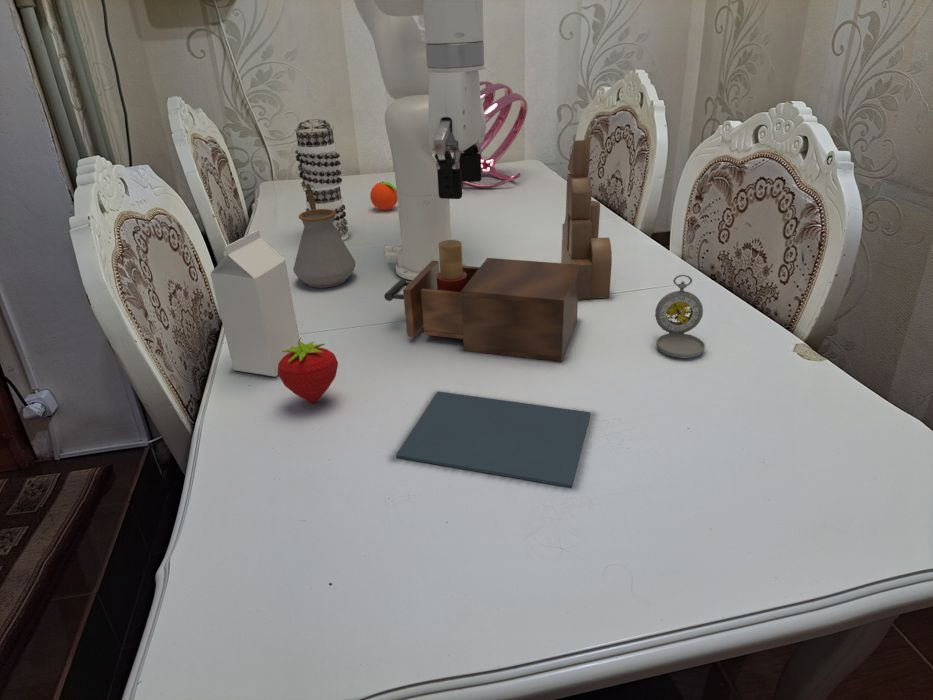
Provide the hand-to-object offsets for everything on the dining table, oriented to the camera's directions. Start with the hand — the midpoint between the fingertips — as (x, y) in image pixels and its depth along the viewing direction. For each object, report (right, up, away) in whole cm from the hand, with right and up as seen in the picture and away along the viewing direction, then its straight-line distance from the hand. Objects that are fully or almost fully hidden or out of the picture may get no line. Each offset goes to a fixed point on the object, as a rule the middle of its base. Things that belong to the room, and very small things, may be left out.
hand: (461, 189), depth 92 cm
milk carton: (-28, -25, +2) cm, 38 cm away
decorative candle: (-30, +2, +53) cm, 61 cm away
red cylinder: (-1, -18, +9) cm, 20 cm away
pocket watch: (+32, -22, +2) cm, 39 cm away
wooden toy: (+22, -11, +24) cm, 35 cm away
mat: (+4, -33, -16) cm, 37 cm away
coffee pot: (-27, -8, +34) cm, 45 cm away
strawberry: (-19, -30, -8) cm, 36 cm away
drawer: (-2, -19, +10) cm, 21 cm away
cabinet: (+9, -21, +7) cm, 24 cm away
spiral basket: (+5, +25, +92) cm, 96 cm away
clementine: (-19, +12, +71) cm, 74 cm away
